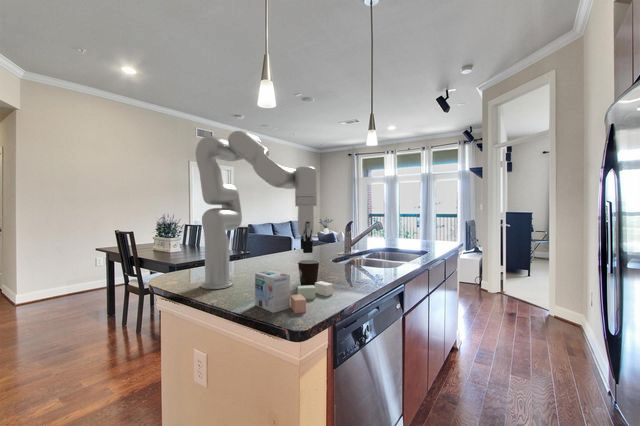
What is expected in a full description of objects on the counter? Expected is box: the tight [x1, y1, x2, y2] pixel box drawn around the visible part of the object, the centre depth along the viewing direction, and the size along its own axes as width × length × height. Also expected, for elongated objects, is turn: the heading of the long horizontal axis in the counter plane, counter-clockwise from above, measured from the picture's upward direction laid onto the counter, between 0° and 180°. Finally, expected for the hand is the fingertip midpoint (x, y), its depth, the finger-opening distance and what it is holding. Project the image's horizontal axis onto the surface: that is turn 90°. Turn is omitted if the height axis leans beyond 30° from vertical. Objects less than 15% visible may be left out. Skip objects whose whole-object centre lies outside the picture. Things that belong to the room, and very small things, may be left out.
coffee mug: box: [297, 259, 320, 286], centre depth 127 cm, size 12×9×10 cm
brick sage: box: [296, 285, 316, 300], centre depth 109 cm, size 6×4×4 cm, turn 99°
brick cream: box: [315, 280, 334, 297], centre depth 114 cm, size 6×4×4 cm, turn 43°
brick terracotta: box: [290, 294, 307, 314], centre depth 97 cm, size 6×4×4 cm, turn 19°
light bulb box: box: [254, 269, 291, 314], centre depth 100 cm, size 11×7×11 cm, turn 44°
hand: (306, 250), depth 109 cm, fingers open, 9 cm apart
